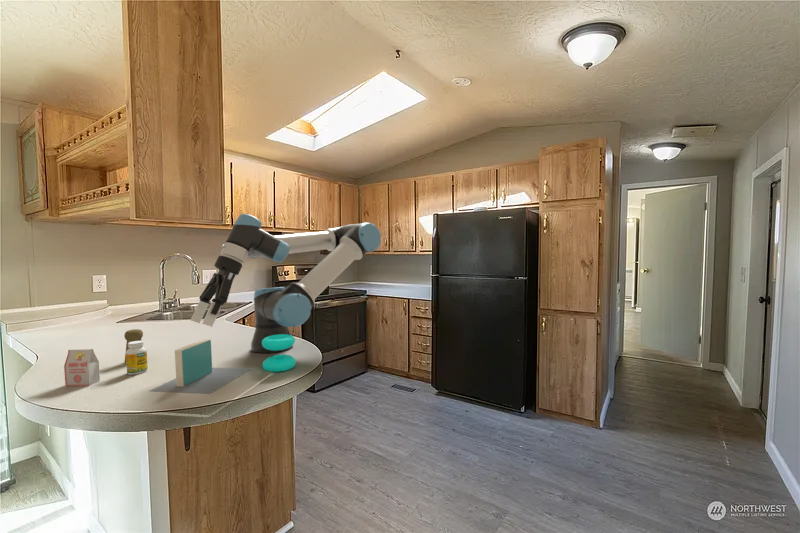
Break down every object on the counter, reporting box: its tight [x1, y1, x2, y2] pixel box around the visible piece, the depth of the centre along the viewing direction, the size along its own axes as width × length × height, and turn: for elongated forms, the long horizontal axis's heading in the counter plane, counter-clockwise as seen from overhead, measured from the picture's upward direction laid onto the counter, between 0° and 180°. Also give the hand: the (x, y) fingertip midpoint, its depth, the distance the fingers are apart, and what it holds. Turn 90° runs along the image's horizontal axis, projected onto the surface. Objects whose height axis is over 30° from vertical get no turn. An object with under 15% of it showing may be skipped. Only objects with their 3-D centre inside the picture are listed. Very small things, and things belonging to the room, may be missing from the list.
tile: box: [174, 339, 213, 386], centre depth 107 cm, size 2×12×10 cm, turn 171°
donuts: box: [262, 334, 297, 373], centre depth 117 cm, size 10×10×10 cm
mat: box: [149, 367, 253, 395], centre depth 107 cm, size 18×20×1 cm
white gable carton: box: [63, 348, 101, 387], centre depth 106 cm, size 4×7×10 cm, turn 90°
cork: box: [123, 328, 144, 365], centre depth 128 cm, size 6×6×11 cm
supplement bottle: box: [125, 340, 149, 376], centre depth 116 cm, size 5×5×10 cm
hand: (200, 323), depth 111 cm, fingers open, 13 cm apart
